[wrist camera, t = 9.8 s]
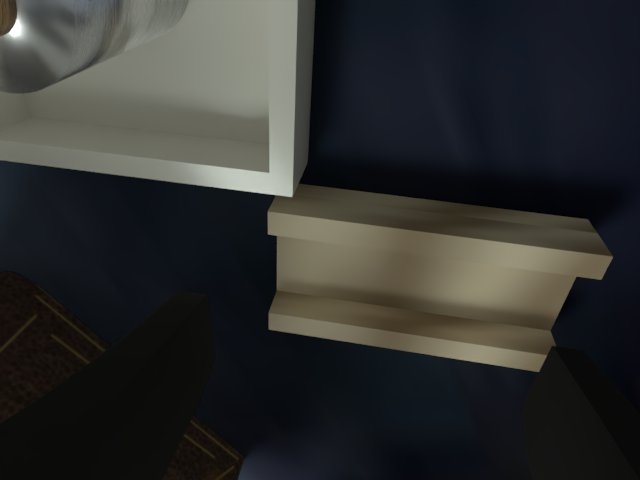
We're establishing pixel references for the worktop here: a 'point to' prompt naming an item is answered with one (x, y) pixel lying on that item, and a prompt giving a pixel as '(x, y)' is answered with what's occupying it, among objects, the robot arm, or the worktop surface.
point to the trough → (427, 273)
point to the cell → (74, 36)
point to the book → (70, 356)
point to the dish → (184, 103)
